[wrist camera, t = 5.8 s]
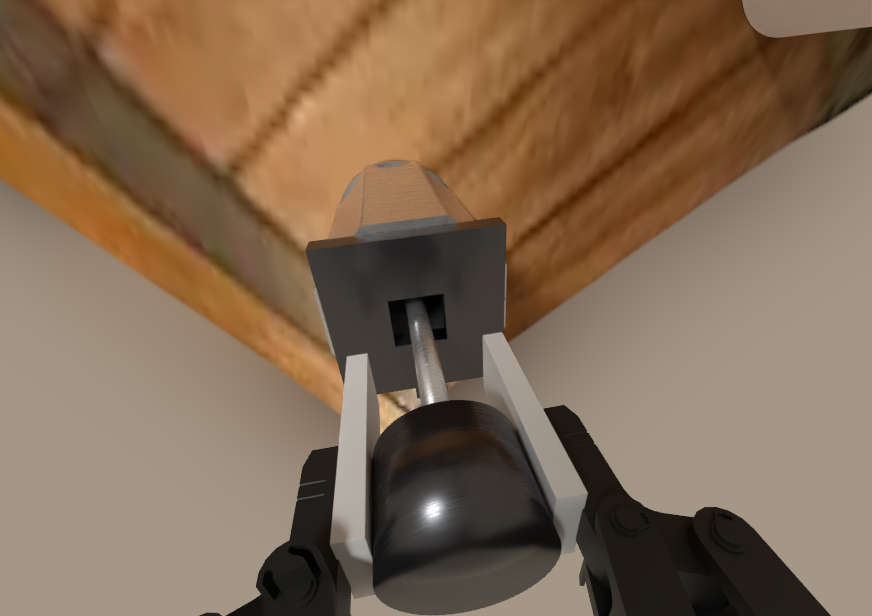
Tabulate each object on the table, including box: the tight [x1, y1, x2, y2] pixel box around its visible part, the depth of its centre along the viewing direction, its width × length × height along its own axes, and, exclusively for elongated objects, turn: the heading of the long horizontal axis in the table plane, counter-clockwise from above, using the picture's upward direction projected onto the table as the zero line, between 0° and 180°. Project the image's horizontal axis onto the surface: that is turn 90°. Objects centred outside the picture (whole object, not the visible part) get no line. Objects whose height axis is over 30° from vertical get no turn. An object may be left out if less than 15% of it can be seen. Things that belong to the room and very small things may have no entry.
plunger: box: [372, 296, 562, 615], centre depth 17 cm, size 7×7×20 cm
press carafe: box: [305, 160, 507, 398], centre depth 25 cm, size 12×10×15 cm
